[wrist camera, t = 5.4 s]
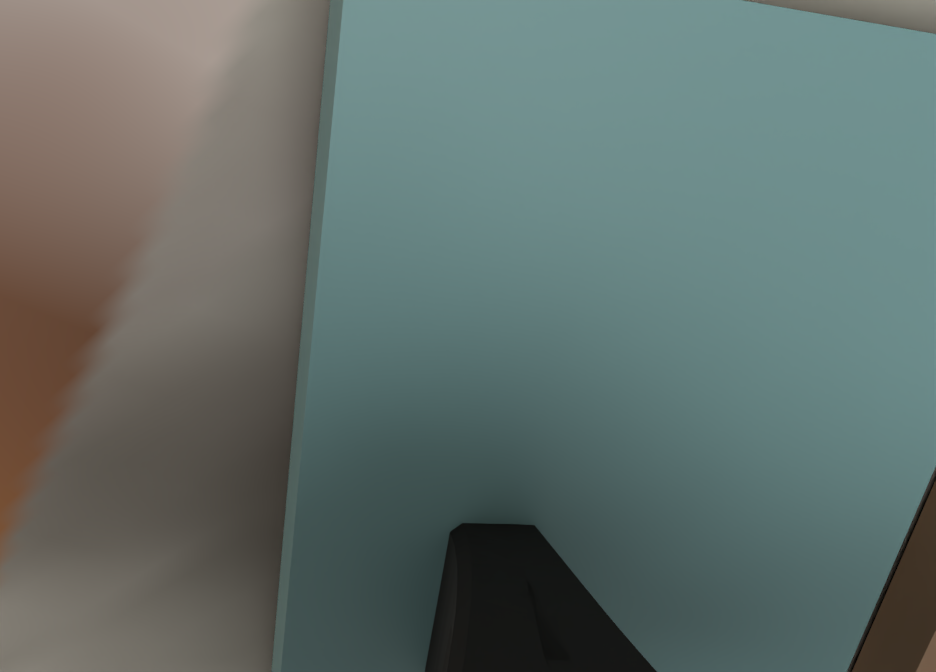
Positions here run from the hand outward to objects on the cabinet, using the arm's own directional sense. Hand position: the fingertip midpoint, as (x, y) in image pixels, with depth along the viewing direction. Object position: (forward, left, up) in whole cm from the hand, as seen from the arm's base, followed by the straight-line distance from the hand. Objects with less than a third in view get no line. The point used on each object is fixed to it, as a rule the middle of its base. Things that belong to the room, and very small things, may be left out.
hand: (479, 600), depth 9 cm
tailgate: (-5, 0, -2) cm, 5 cm away
